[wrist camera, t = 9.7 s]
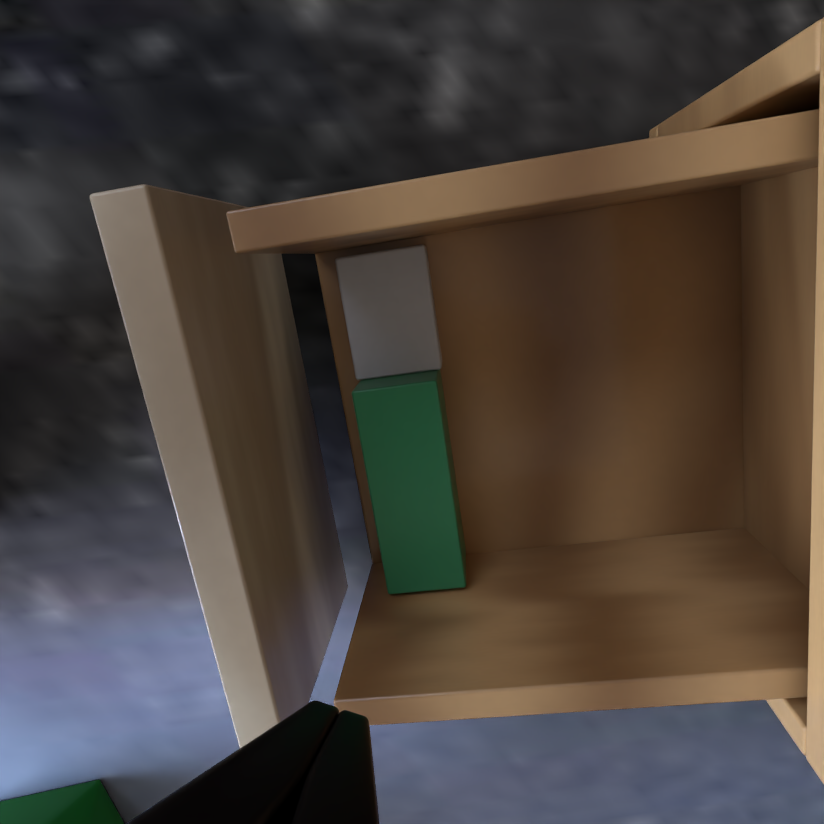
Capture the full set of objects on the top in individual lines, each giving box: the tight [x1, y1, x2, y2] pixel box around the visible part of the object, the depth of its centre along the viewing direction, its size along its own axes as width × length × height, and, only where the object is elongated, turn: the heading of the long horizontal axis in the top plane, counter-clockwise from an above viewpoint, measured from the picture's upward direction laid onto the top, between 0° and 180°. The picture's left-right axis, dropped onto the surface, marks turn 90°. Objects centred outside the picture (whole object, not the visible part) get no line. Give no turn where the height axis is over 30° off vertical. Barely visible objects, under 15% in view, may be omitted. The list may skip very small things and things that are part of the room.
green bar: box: [335, 245, 466, 594], centre depth 18 cm, size 10×3×2 cm, turn 9°
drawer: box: [90, 109, 819, 748], centre depth 16 cm, size 17×13×8 cm
